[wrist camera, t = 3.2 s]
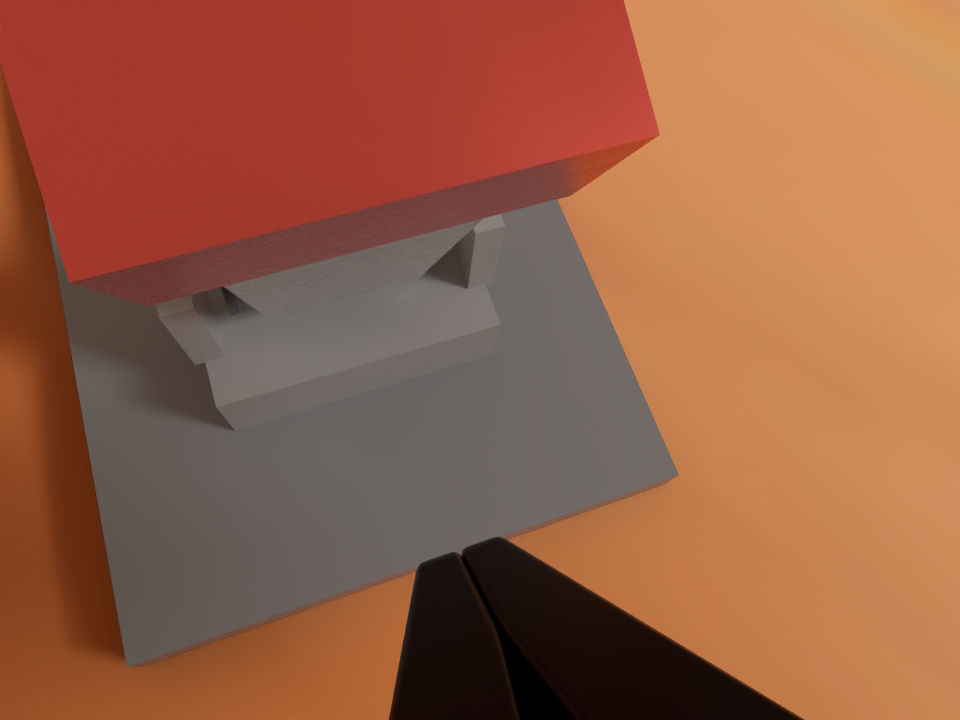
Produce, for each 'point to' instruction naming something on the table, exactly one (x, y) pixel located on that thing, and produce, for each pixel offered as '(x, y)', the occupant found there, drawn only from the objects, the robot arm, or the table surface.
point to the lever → (307, 133)
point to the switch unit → (349, 430)
